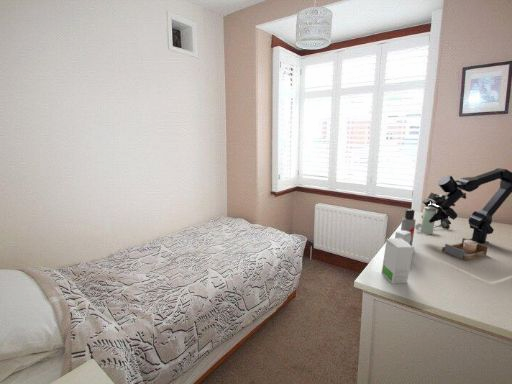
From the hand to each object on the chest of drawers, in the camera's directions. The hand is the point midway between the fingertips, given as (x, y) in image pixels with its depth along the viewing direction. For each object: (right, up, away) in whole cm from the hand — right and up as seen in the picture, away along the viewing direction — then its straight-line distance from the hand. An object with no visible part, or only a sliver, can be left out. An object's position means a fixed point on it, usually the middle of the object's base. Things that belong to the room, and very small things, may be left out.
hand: (425, 220), depth 139 cm
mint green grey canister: (+1, -6, +2) cm, 7 cm away
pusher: (+6, -15, -12) cm, 20 cm away
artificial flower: (+17, -9, +20) cm, 28 cm away
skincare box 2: (-31, -20, -29) cm, 47 cm away
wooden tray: (+12, -15, -9) cm, 22 cm away
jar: (+16, -14, -8) cm, 23 cm away
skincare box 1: (-19, -16, -11) cm, 27 cm away
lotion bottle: (-12, -14, -2) cm, 18 cm away
